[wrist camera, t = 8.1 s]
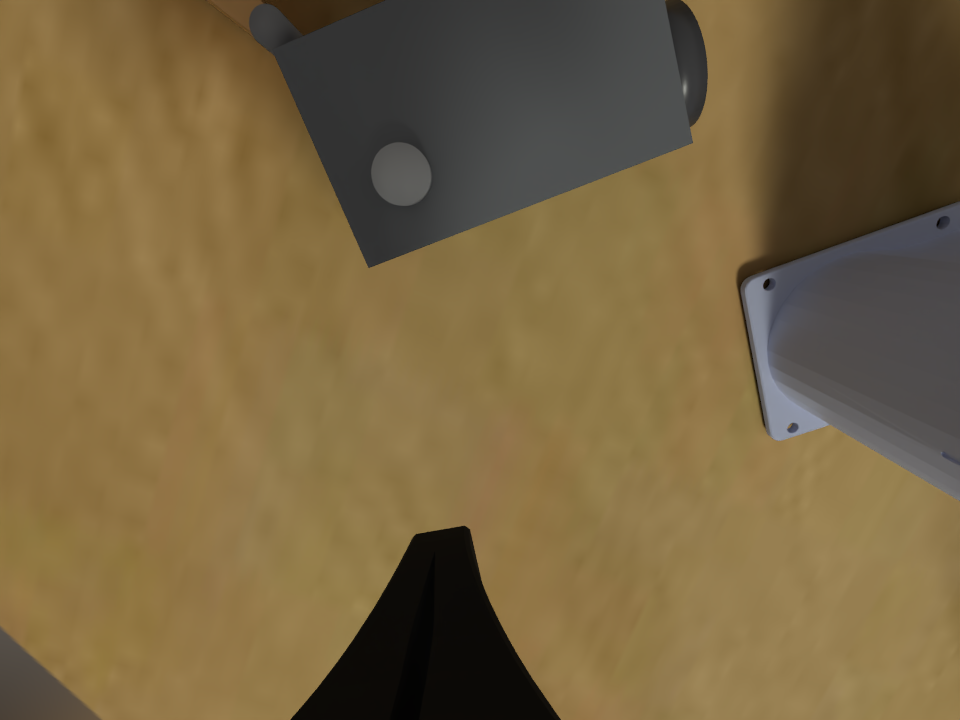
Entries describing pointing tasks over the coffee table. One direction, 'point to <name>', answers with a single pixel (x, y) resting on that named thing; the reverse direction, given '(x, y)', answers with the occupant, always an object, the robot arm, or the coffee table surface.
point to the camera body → (488, 105)
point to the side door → (259, 21)
